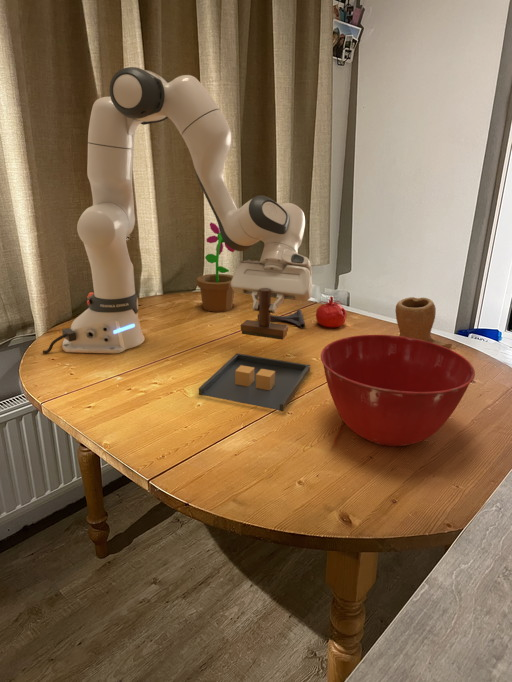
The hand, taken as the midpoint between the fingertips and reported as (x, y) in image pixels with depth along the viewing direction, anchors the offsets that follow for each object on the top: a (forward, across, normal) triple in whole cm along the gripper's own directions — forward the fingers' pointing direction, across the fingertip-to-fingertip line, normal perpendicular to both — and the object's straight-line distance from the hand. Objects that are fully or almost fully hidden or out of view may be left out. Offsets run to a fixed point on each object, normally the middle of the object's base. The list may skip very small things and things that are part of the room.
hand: (263, 311), depth 120 cm
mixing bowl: (+23, +33, 0) cm, 40 cm away
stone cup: (-9, +35, +32) cm, 49 cm away
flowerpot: (-20, -33, +43) cm, 57 cm away
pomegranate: (-18, +8, +41) cm, 45 cm away
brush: (+4, 0, +5) cm, 6 cm away
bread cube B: (+17, -1, +4) cm, 18 cm away
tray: (+17, +1, +6) cm, 18 cm away
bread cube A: (+17, +4, +4) cm, 18 cm away
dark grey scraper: (-16, -8, +39) cm, 43 cm away
